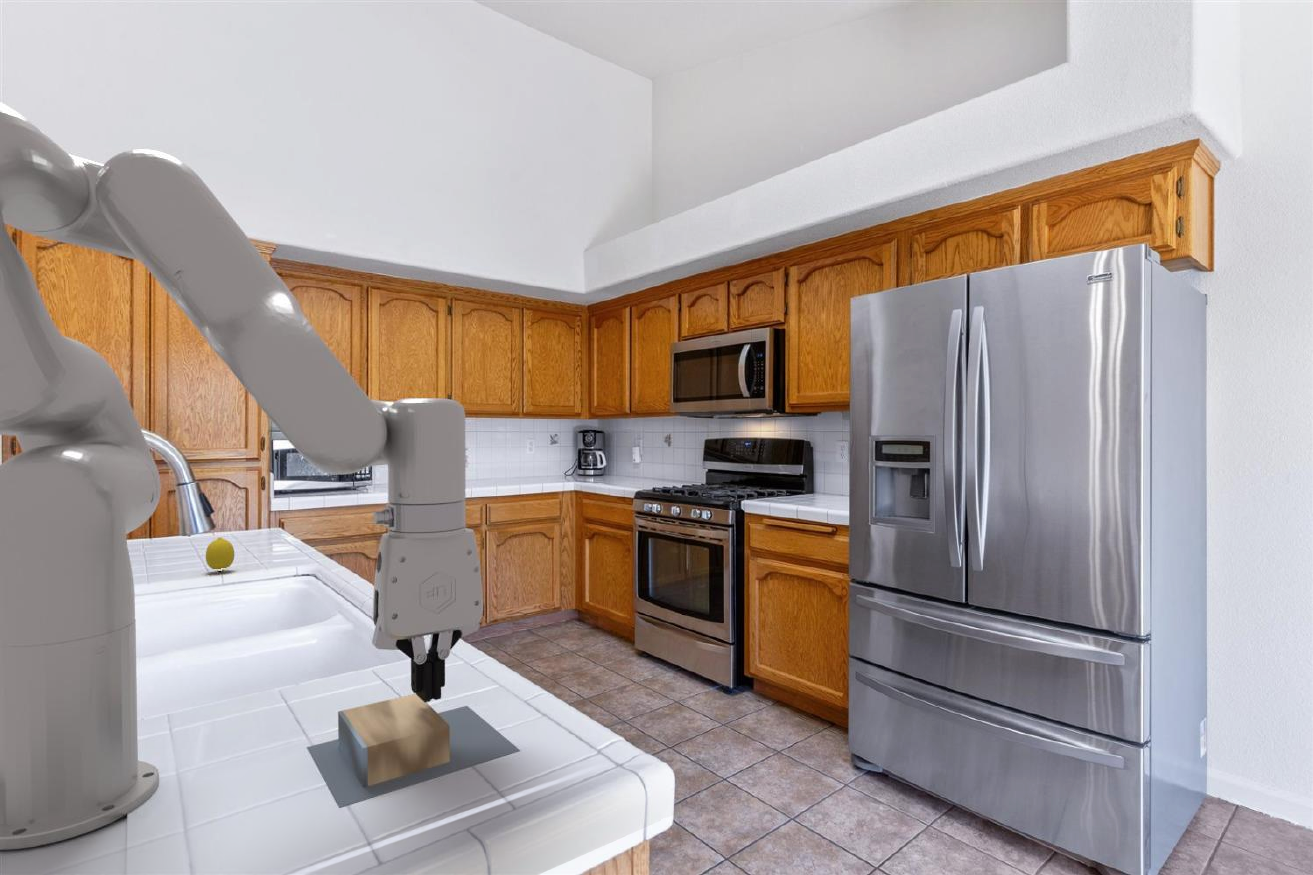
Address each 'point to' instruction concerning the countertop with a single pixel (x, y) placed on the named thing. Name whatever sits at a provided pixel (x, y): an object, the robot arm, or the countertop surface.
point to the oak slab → (392, 739)
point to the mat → (467, 748)
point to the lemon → (219, 554)
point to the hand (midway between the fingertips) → (428, 696)
